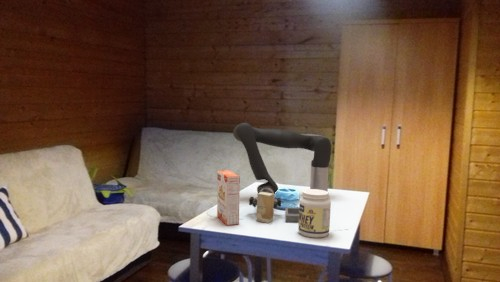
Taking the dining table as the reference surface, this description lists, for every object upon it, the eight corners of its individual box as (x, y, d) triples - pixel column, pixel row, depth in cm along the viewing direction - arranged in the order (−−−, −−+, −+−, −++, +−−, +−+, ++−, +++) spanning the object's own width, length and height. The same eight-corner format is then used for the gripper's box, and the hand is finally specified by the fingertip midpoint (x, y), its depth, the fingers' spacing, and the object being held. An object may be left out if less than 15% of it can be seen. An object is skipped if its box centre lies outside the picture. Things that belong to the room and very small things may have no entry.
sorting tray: (285, 213, 198) (285, 207, 198) (313, 215, 197) (314, 208, 197) (285, 222, 185) (285, 215, 185) (316, 223, 184) (316, 216, 184)
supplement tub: (292, 232, 171) (293, 191, 169) (310, 226, 179) (312, 187, 178) (316, 240, 162) (318, 196, 160) (335, 234, 171) (337, 192, 169)
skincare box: (255, 221, 186) (256, 193, 184) (260, 218, 190) (261, 191, 188) (269, 223, 183) (270, 195, 181) (273, 220, 187) (274, 193, 185)
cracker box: (216, 216, 191) (216, 170, 188) (229, 215, 193) (230, 169, 191) (225, 226, 178) (226, 176, 175) (239, 224, 180) (240, 175, 178)
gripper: (251, 188, 203) (248, 196, 187) (281, 189, 202) (281, 197, 185) (250, 204, 203) (248, 213, 187) (281, 205, 202) (280, 214, 186)
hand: (264, 205), depth 186 cm, fingers open, 8 cm apart
